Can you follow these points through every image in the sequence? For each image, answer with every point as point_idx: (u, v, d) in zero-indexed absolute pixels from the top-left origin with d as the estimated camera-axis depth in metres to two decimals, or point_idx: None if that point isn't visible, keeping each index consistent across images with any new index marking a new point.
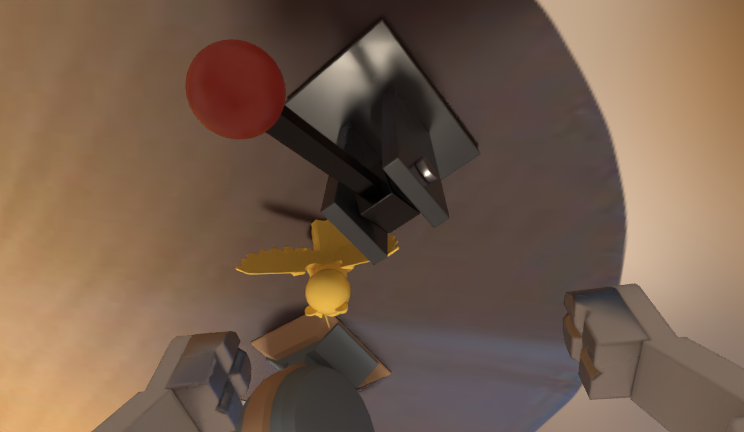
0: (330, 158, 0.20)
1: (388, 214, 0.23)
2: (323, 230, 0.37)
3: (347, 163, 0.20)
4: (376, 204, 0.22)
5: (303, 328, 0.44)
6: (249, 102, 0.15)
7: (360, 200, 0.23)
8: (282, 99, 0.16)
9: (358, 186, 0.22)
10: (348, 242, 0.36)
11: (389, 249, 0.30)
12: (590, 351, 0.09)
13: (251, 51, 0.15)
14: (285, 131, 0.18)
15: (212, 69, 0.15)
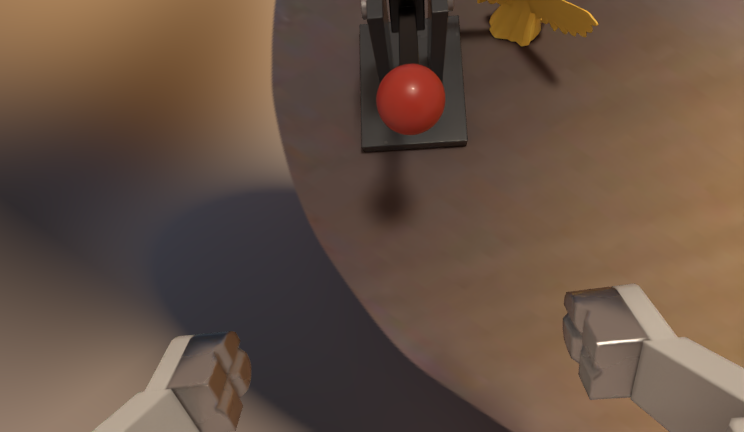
0: (403, 38, 0.25)
1: None
2: (519, 31, 0.38)
3: (399, 31, 0.26)
4: None
5: None
6: (394, 77, 0.21)
7: (419, 7, 0.28)
8: None
9: (408, 15, 0.27)
10: (503, 7, 0.38)
11: None
12: (590, 351, 0.09)
13: (379, 110, 0.22)
14: None
15: (400, 107, 0.21)
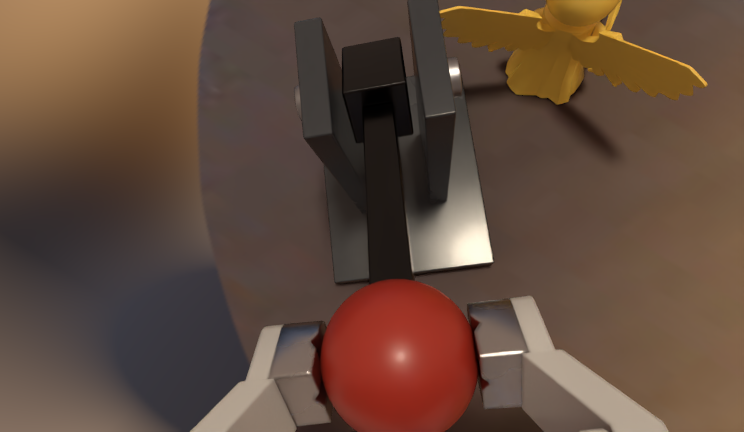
0: (374, 183, 0.13)
1: (374, 64, 0.15)
2: (553, 84, 0.26)
3: (364, 163, 0.13)
4: (373, 87, 0.14)
5: None
6: (354, 343, 0.09)
7: (399, 102, 0.15)
8: (338, 308, 0.10)
9: (381, 124, 0.14)
10: (527, 53, 0.25)
11: (451, 16, 0.20)
12: (478, 362, 0.09)
13: (329, 397, 0.10)
14: (387, 258, 0.11)
15: (374, 422, 0.09)
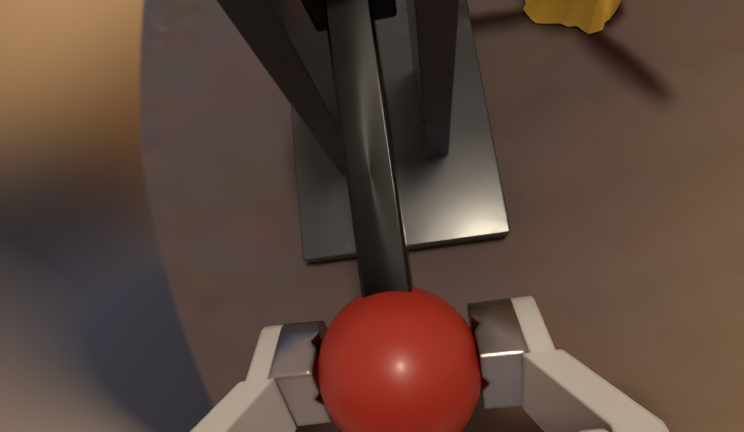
0: (354, 145, 0.10)
1: None
2: (585, 6, 0.20)
3: (337, 107, 0.10)
4: None
5: None
6: (356, 405, 0.08)
7: None
8: (331, 334, 0.09)
9: (355, 32, 0.10)
10: None
11: None
12: (479, 362, 0.09)
13: None
14: (380, 261, 0.09)
15: None
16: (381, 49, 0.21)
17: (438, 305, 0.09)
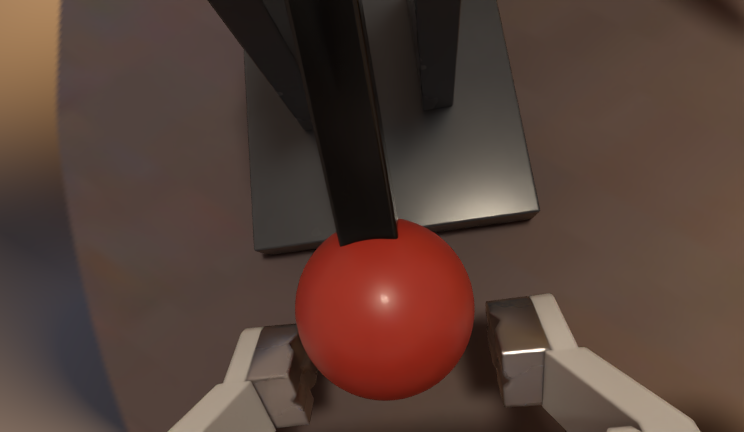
0: (313, 50, 0.07)
1: None
2: None
3: None
4: None
5: None
6: (342, 371, 0.08)
7: None
8: (307, 291, 0.08)
9: None
10: None
11: None
12: (500, 360, 0.09)
13: None
14: (358, 206, 0.08)
15: None
16: None
17: (429, 254, 0.08)
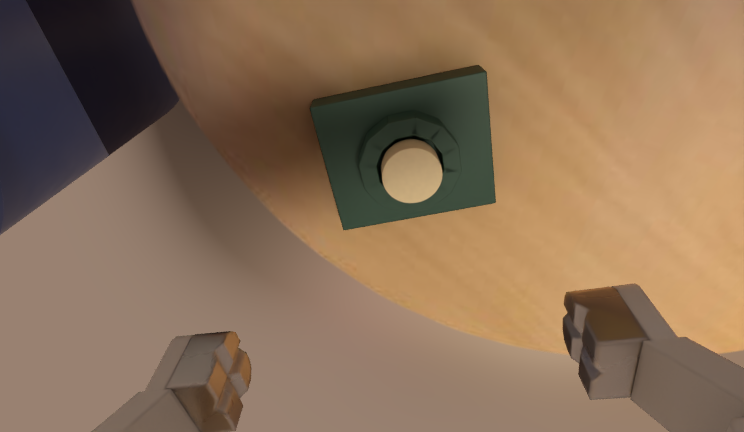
0: None
1: None
2: None
3: None
4: None
5: None
6: None
7: None
8: None
9: None
10: None
11: None
12: (590, 351, 0.09)
13: None
14: None
15: None
16: None
17: None
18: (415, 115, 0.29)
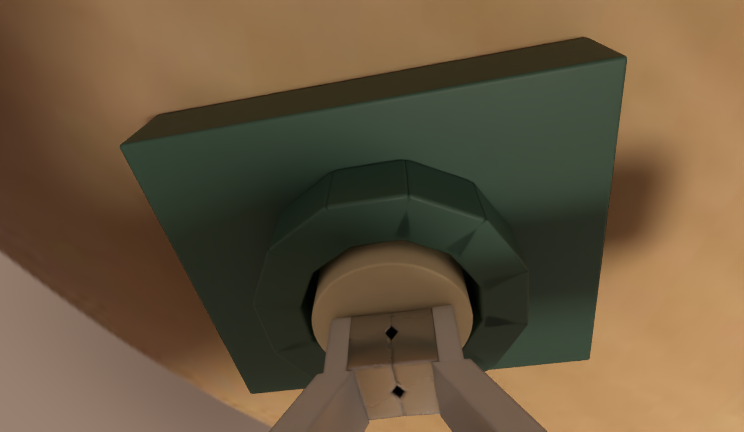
0: None
1: None
2: None
3: None
4: None
5: None
6: None
7: None
8: None
9: None
10: None
11: None
12: None
13: None
14: None
15: None
16: None
17: None
18: (408, 182, 0.10)
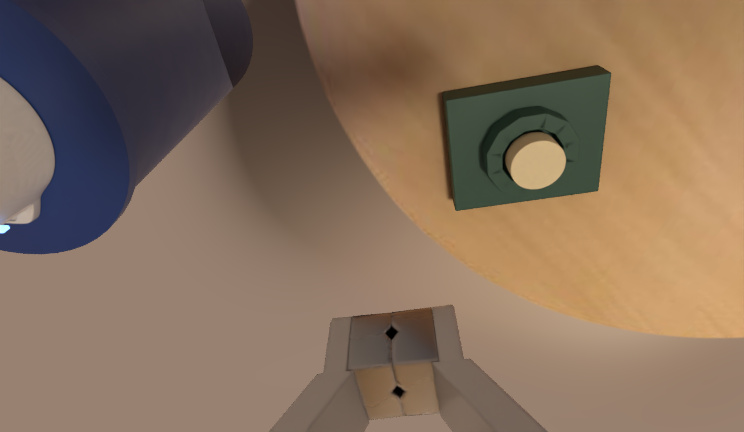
0: None
1: None
2: None
3: None
4: None
5: None
6: None
7: None
8: None
9: None
10: None
11: None
12: None
13: None
14: None
15: None
16: None
17: None
18: (544, 110, 0.32)
